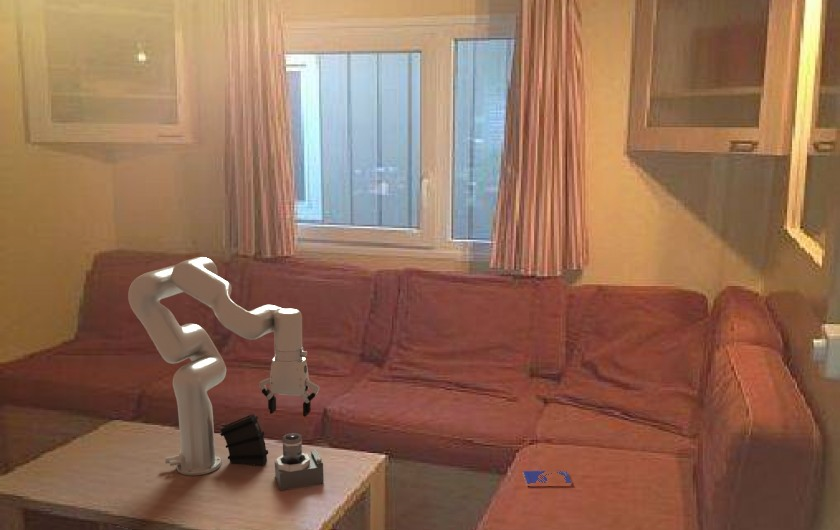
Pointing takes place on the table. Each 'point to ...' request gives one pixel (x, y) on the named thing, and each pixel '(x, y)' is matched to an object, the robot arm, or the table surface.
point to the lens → (292, 449)
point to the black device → (245, 441)
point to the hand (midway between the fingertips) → (289, 413)
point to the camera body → (299, 472)
